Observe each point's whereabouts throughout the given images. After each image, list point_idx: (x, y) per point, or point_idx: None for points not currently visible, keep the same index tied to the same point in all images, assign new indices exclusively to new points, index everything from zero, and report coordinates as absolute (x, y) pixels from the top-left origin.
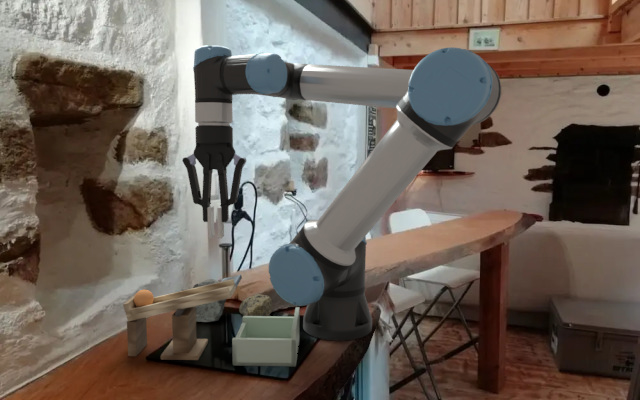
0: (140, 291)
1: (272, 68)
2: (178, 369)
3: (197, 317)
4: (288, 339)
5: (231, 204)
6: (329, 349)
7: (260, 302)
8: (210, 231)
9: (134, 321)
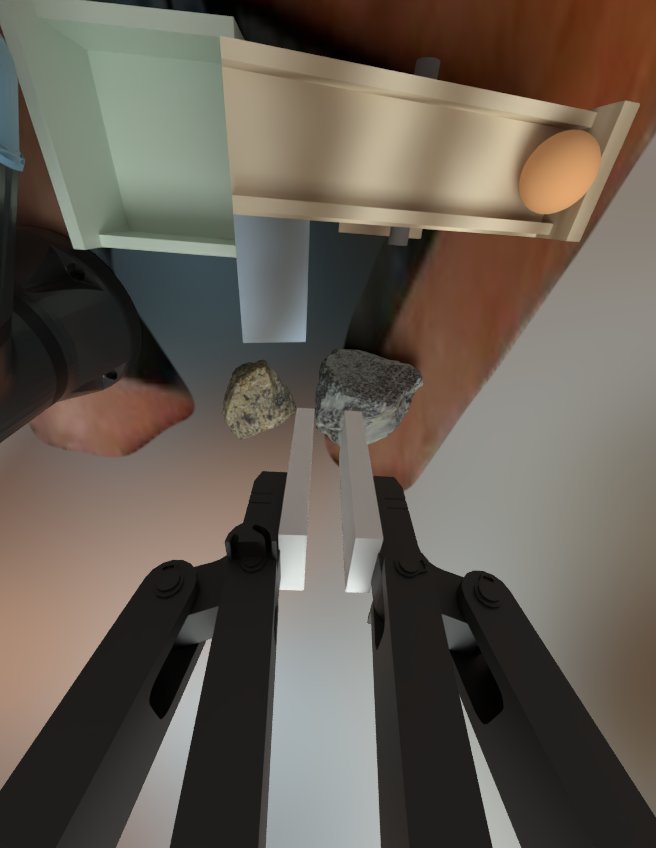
0: (590, 158)
1: None
2: (392, 28)
3: (376, 357)
4: (44, 5)
5: (195, 568)
6: (30, 171)
7: (239, 392)
8: (351, 430)
9: None
